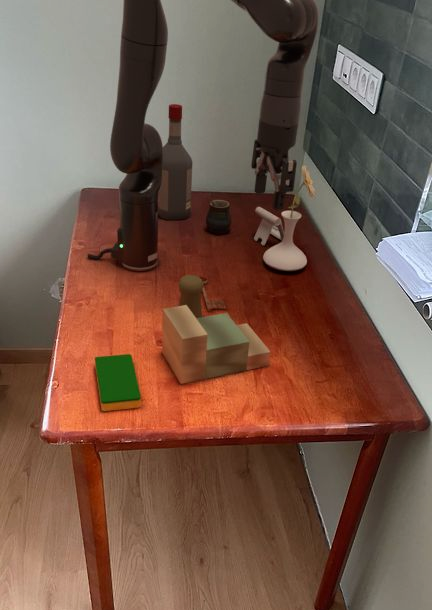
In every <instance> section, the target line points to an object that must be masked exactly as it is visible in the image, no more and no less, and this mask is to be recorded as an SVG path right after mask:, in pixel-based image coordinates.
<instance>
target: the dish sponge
mask: <svg viewBox="0 0 432 610" xmlns="http://www.w3.org/2000/svg"><path fill="white" fill-rule="evenodd" d="M132 355H133V354H130V353H124V354H113V355H103V356H102V355H101V356H95V357H94V368H95V373H96V381H97V387H98V394H99V395H98V396H99V401H100V409H101V411H102V412H109V411H120V410H127V409H139V408H141V407H142V395H141V392H140V387H139V382H138V378H137V373H136V370H135V365H134V360H133V356H132Z"/></svg>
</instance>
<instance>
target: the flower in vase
mask: <svg viewBox="0 0 432 610" xmlns="http://www.w3.org/2000/svg"><path fill="white" fill-rule="evenodd" d="M301 174H302V175H301V176H302V179H303V182H302V183H301V185H300V186H299V188H298V189H297V191H296V193H295V195H294V198H293V201H292V204H291V205H290V206H288V207H287V209H291V210H284V211H282V212H281V217H282V218H283V222H284V238H283V240H282V241H280V242H279V243H277V244H275V245H273V246H271V247H269V248H268V249H267V250H266V251H265V252H264V254H263V256H262V260H263V262H264V263H265V264H266V265H267V266H268V267H270V268H271V269H275V270H277V271H282V272H294V271H299V270H302V269H303V268H305V266H306V265H307V262H308V260H307V256H306V254H304V252H303V251H302V250H301V249H300V248H298V246H297V245H296V244H295V243H294V239H293V237H294V233H295V228H296V225H297V223H298V221H299V220H300V219H301V218H302V217H303V215H302V214H301V213H300V212H299V211H295V210H294V208H298V207H299V205H300V203H301V199H300V195H298V194H299V192H300V191H301V189H302V188H303V186H305V188H306V191H307V193H308V196H309V197H310V198H315V197H316V195H315V193H316V190H315V188H314V186H313V184H314V181H313V179H311V174H310V170H307V166H306V165H302V166H301Z"/></svg>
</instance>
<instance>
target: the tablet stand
mask: <svg viewBox="0 0 432 610" xmlns="http://www.w3.org/2000/svg"><path fill="white" fill-rule="evenodd" d="M254 213H255V214H256V215H257V216H258V217H261V221H260V223H259V226H258V228H257V230H256V233H255V235H254V237H253V240H254V241H255V242H258V240H259V239H261V242H260V245H262V246H265V245H266V244H267V242H268V239H269V237H270V235H272V236H273V237H275V238H276V239H278V240H280V242H282V240H283V238H284V232H285V230H284V227H283V222H282V220H281V218H280V217H278V216H276V215H274V214H273V213H271V212H270V211H268V210H266V209H264V208H262V207H261V206H257V207H256V208H255V209H254Z"/></svg>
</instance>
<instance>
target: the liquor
mask: <svg viewBox="0 0 432 610" xmlns="http://www.w3.org/2000/svg"><path fill="white" fill-rule="evenodd" d="M182 120H183V105H181V104H178V103H172V104H169V105H168V137H167V142H166V144H164V145H163V168H162V182H161V186H160V189H159V191H158V216H159V217H160V219H163V220H167V221H176V220H177V221H178V220H179V221H180V220H186V219H188V218H189V217H190V215H191V211H192V210H191V209H192V206H191V205H192V186H193V185H192V183H193V159H192V157H191V155H190V154H189V153H188V151H187V149H186V148H185V146H184V145H183V140H182Z"/></svg>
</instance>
